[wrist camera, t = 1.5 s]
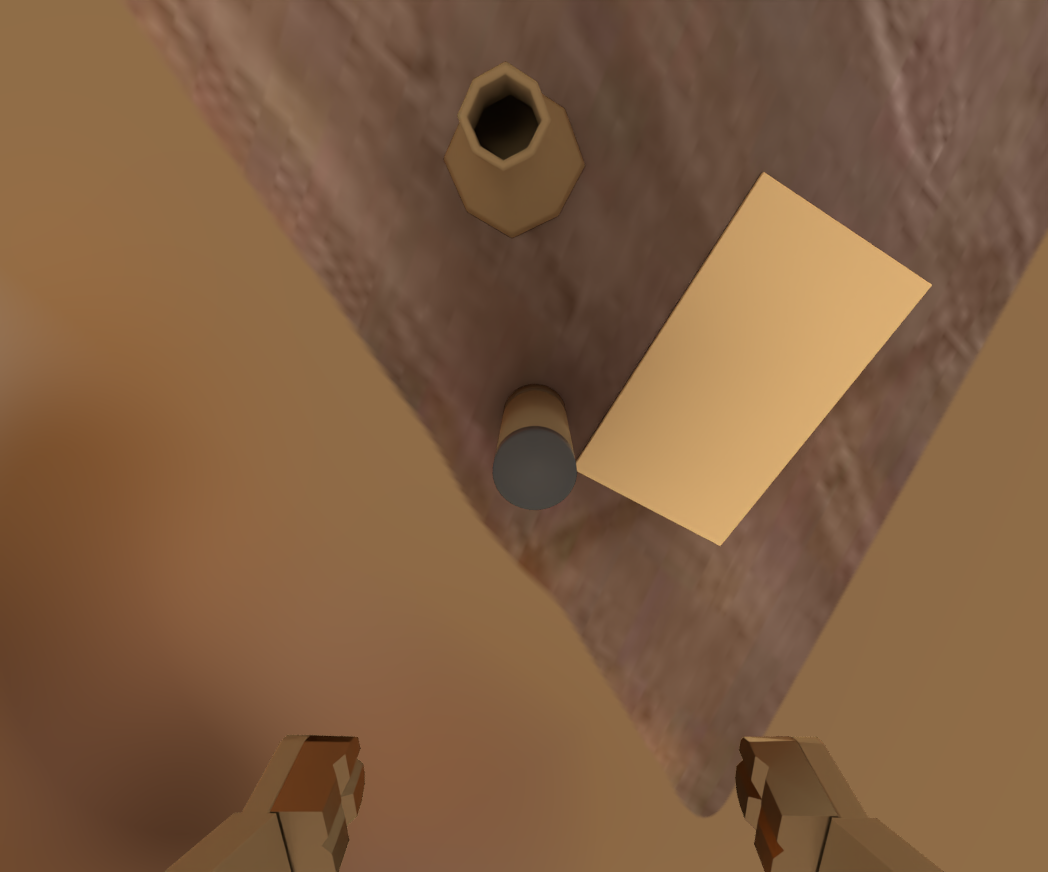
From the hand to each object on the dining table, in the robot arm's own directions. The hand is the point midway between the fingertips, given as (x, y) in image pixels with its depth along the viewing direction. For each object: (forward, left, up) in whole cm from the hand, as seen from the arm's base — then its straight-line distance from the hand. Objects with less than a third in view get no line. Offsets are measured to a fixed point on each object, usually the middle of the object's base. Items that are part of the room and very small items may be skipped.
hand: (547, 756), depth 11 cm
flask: (-12, -8, -23) cm, 28 cm away
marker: (0, 0, -23) cm, 23 cm away
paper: (-8, +10, -23) cm, 26 cm away
